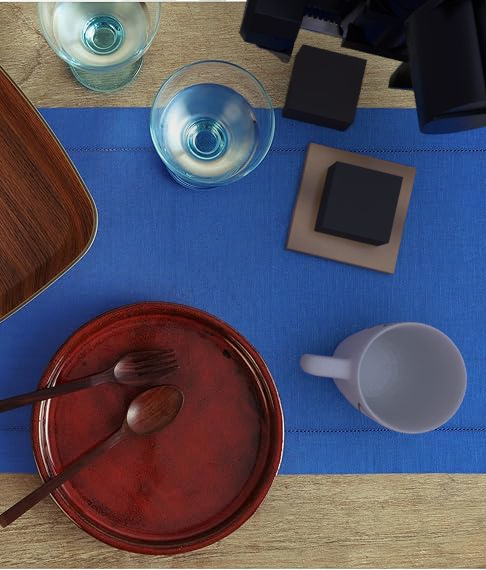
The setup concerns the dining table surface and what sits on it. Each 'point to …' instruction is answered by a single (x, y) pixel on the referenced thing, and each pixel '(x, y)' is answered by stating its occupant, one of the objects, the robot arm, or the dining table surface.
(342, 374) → the mug
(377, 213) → the pad bottom
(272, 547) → the dining table surface
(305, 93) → the pad top
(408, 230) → the dining table surface
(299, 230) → the cork mat
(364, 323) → the dining table surface
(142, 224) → the dining table surface
